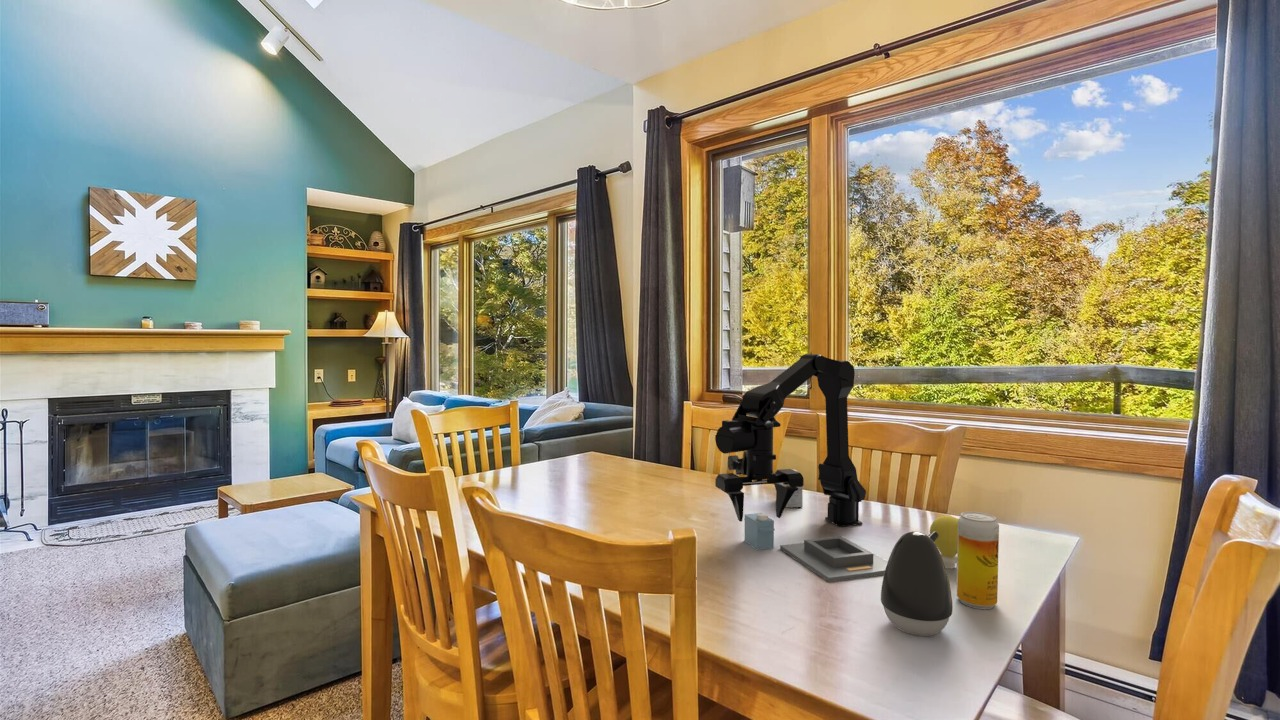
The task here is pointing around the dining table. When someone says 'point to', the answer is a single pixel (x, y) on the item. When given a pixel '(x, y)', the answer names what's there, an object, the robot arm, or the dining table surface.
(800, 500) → the medicine box
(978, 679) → the dining table surface
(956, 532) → the light bulb
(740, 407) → the robot arm
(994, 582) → the beer can
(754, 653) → the dining table surface
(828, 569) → the chassis plate
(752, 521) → the block
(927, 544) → the dark egg-shaped diffuser
